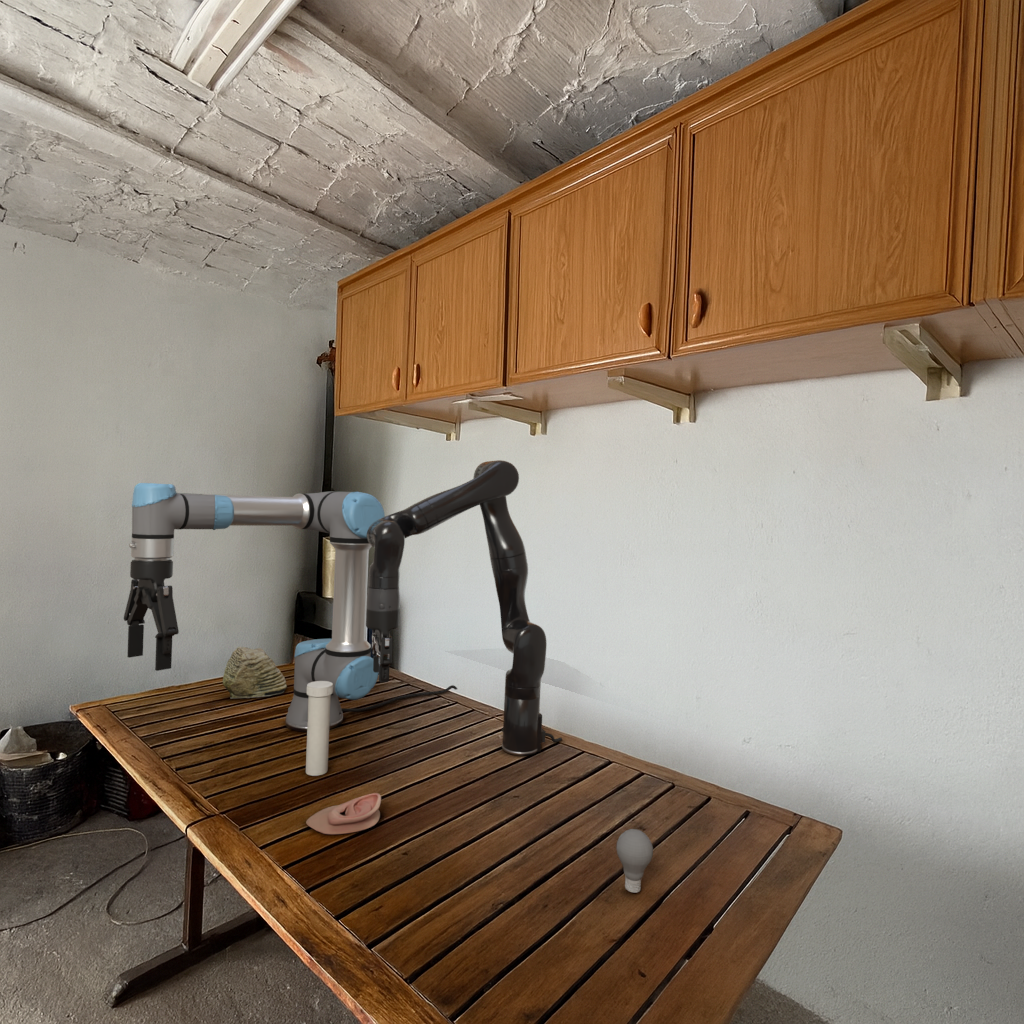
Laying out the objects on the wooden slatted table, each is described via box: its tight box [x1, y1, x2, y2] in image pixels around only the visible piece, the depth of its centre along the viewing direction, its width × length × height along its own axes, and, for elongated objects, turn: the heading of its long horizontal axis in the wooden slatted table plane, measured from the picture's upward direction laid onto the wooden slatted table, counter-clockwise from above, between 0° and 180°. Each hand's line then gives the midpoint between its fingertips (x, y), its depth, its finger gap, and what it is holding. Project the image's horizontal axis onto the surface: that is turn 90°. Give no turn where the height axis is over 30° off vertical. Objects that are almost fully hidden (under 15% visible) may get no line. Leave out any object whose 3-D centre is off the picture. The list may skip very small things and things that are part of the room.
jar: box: [305, 695, 331, 777], centre depth 146 cm, size 5×5×20 cm
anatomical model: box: [305, 792, 382, 835], centre depth 124 cm, size 13×4×12 cm
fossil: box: [222, 646, 288, 699], centre depth 198 cm, size 9×18×15 cm, turn 132°
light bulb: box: [615, 828, 654, 894], centre depth 106 cm, size 6×6×10 cm
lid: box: [307, 681, 333, 697], centre depth 146 cm, size 6×6×2 cm
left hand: (148, 662), depth 129 cm, fingers open, 13 cm apart
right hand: (380, 676), depth 146 cm, fingers open, 8 cm apart
